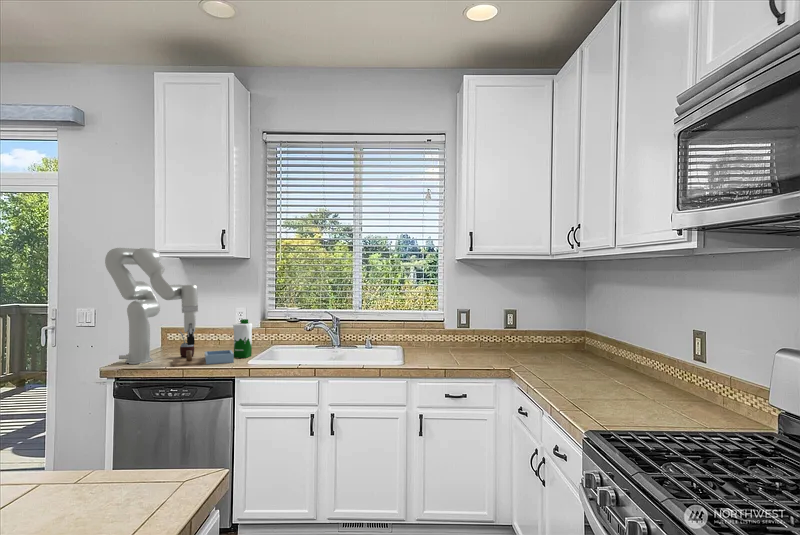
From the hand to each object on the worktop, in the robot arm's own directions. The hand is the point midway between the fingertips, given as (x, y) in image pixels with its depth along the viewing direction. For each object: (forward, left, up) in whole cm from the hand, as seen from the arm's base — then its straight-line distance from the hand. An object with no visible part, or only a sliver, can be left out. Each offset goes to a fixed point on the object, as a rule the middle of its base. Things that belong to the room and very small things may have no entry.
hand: (190, 343), depth 256 cm
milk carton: (+26, +11, -10) cm, 31 cm away
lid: (-1, 0, -10) cm, 10 cm away
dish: (+13, -1, -10) cm, 17 cm away
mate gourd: (-2, +18, -10) cm, 21 cm away
